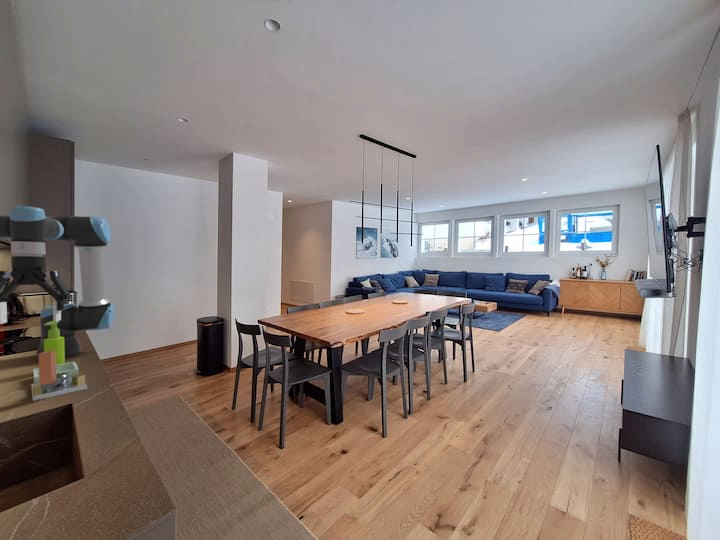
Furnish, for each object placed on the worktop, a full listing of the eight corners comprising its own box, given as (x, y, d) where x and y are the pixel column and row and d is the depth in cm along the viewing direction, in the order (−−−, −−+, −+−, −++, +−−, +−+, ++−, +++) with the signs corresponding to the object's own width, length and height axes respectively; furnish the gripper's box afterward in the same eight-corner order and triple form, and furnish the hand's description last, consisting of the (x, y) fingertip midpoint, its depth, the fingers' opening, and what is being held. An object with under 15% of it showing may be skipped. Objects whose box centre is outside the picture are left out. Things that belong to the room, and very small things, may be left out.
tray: (33, 378, 116) (33, 369, 116) (75, 370, 125) (74, 361, 125) (34, 387, 108) (34, 377, 108) (78, 377, 117) (78, 368, 117)
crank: (54, 382, 109) (53, 345, 108) (70, 380, 110) (69, 344, 110) (36, 394, 99) (35, 354, 98) (54, 392, 100) (53, 352, 100)
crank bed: (31, 388, 107) (31, 377, 107) (81, 377, 117) (81, 367, 117) (32, 401, 98) (32, 388, 98) (87, 388, 108) (86, 377, 107)
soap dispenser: (38, 374, 120) (37, 323, 119) (51, 368, 126) (49, 320, 126) (57, 373, 121) (55, 323, 120) (68, 367, 128) (67, 319, 127)
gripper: (-35, 255, 91) (-33, 326, 91) (71, 256, 99) (72, 321, 99) (-15, 255, 98) (-13, 322, 98) (83, 256, 106) (84, 317, 107)
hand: (30, 322), depth 99 cm, fingers open, 13 cm apart
